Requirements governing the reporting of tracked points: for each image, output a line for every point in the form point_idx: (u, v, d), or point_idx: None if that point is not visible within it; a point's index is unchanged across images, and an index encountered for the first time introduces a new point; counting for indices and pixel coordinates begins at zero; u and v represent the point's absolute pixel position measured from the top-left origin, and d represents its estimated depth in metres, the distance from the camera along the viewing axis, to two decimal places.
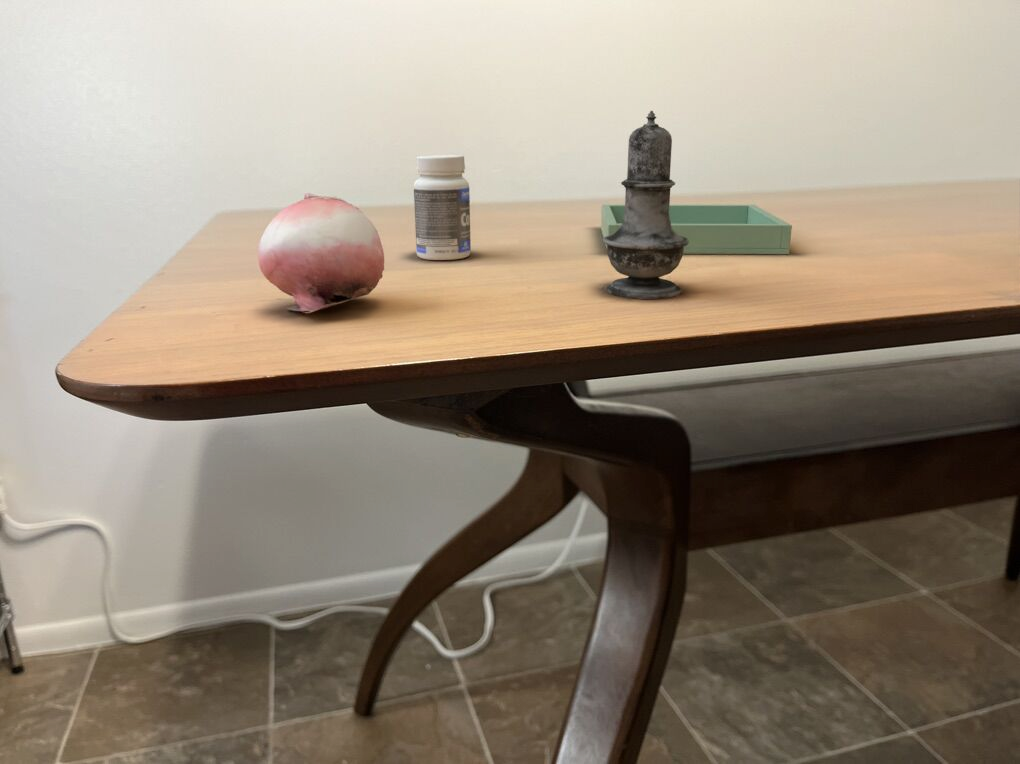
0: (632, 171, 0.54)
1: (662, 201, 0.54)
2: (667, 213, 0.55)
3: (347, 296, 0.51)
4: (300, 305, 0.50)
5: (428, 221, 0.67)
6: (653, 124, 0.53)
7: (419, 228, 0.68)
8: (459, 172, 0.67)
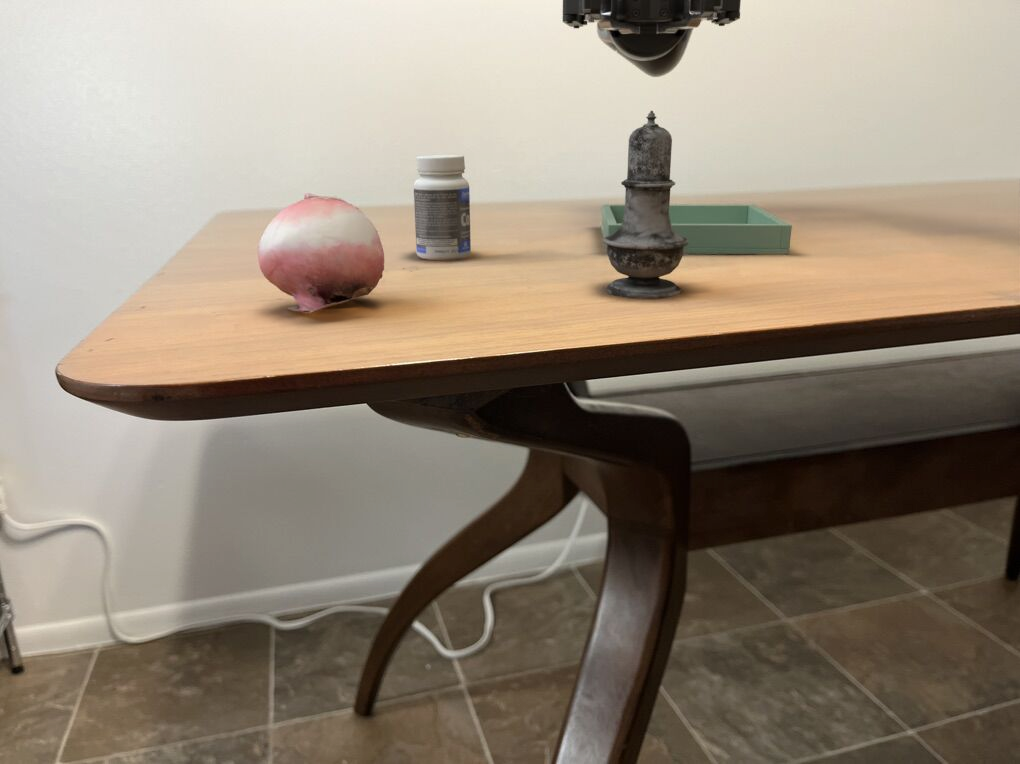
0: (632, 171, 0.54)
1: (662, 201, 0.54)
2: (667, 213, 0.55)
3: (347, 296, 0.51)
4: (300, 305, 0.50)
5: (428, 221, 0.67)
6: (653, 124, 0.53)
7: (419, 228, 0.68)
8: (459, 172, 0.67)
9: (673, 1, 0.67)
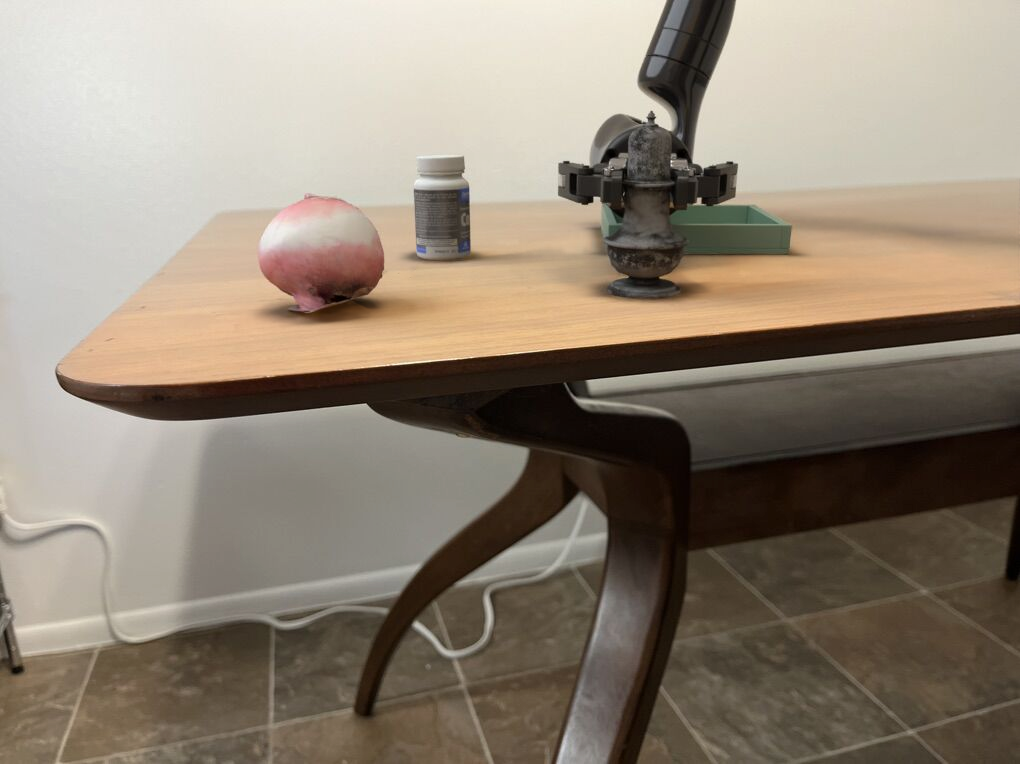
0: (632, 171, 0.54)
1: (662, 201, 0.54)
2: (667, 213, 0.55)
3: (347, 296, 0.51)
4: (300, 305, 0.50)
5: (428, 221, 0.67)
6: (653, 124, 0.53)
7: (419, 228, 0.68)
8: (459, 172, 0.67)
9: None
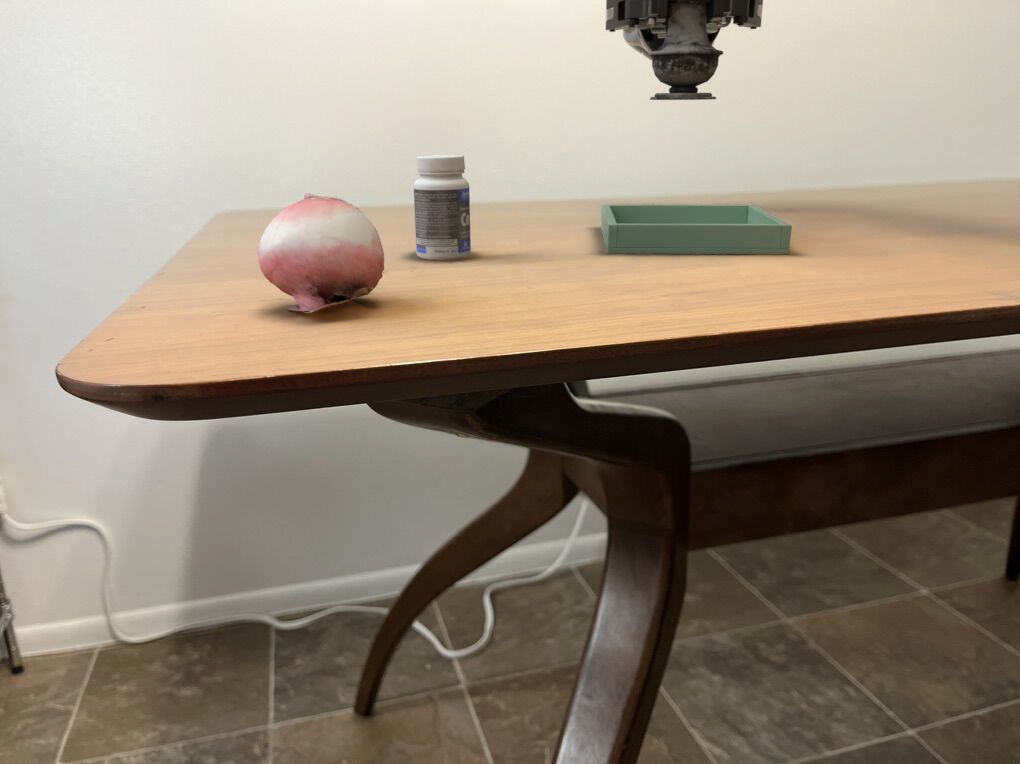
0: None
1: (701, 13, 0.63)
2: (705, 26, 0.64)
3: (347, 296, 0.51)
4: (300, 305, 0.50)
5: (428, 221, 0.67)
6: None
7: (419, 228, 0.68)
8: (459, 172, 0.67)
9: None
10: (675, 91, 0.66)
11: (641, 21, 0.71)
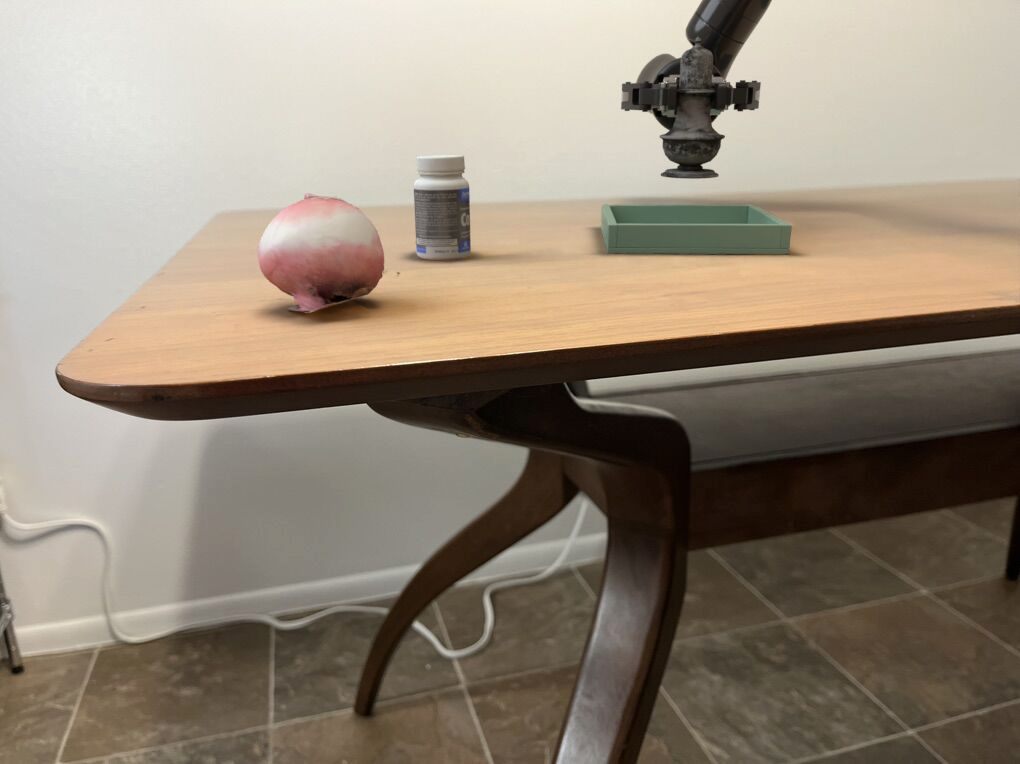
0: (683, 82, 0.72)
1: (705, 104, 0.72)
2: (709, 114, 0.73)
3: (347, 296, 0.51)
4: (300, 305, 0.50)
5: (428, 221, 0.67)
6: (699, 46, 0.72)
7: (419, 228, 0.68)
8: (459, 172, 0.67)
9: None
10: (683, 169, 0.75)
11: None
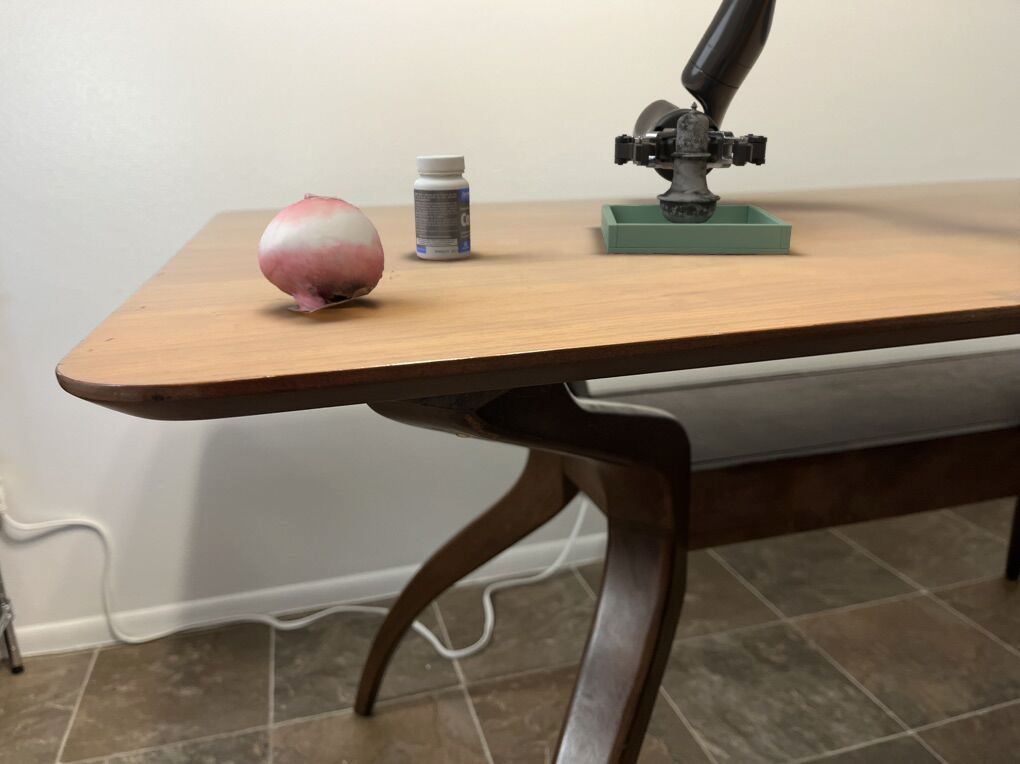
0: (680, 145, 0.74)
1: (701, 167, 0.74)
2: (705, 176, 0.75)
3: (347, 296, 0.51)
4: (300, 305, 0.50)
5: (428, 221, 0.67)
6: (695, 111, 0.74)
7: (419, 228, 0.68)
8: (459, 172, 0.67)
9: (708, 147, 0.79)
10: None
11: None
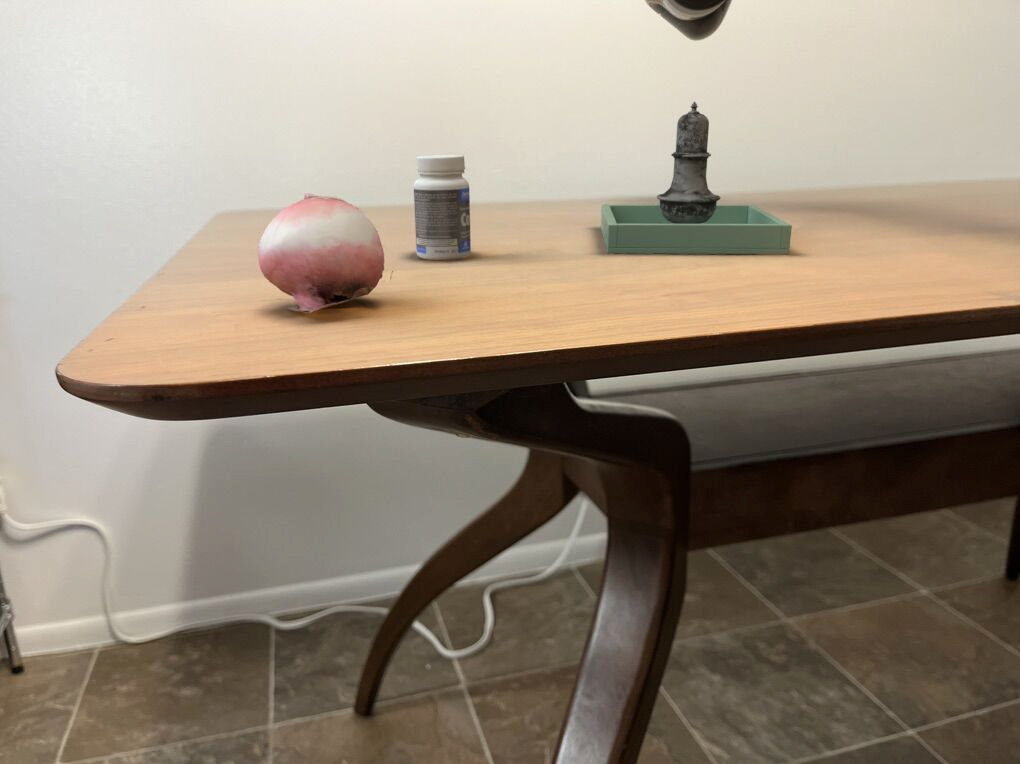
0: (680, 145, 0.74)
1: (701, 167, 0.74)
2: (705, 176, 0.75)
3: (347, 296, 0.51)
4: (300, 305, 0.50)
5: (428, 221, 0.67)
6: (695, 111, 0.74)
7: (419, 228, 0.68)
8: (459, 172, 0.67)
9: None
10: None
11: None
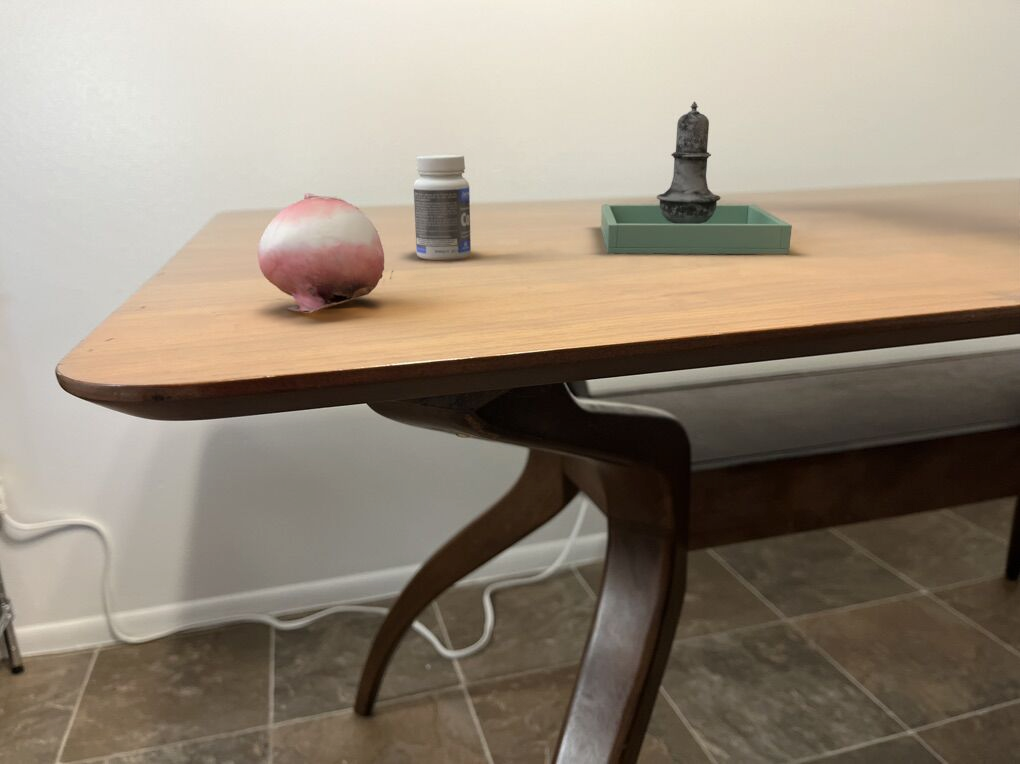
0: (680, 145, 0.74)
1: (701, 167, 0.74)
2: (705, 176, 0.75)
3: (347, 296, 0.51)
4: (300, 305, 0.50)
5: (428, 221, 0.67)
6: (695, 111, 0.74)
7: (419, 228, 0.68)
8: (459, 172, 0.67)
9: None
10: None
11: None
